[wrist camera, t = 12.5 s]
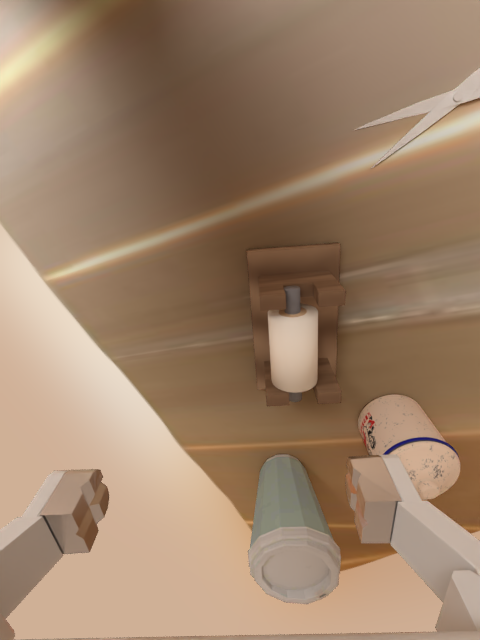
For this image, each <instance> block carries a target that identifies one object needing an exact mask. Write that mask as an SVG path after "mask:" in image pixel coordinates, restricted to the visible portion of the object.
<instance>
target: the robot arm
mask: <svg viewBox="0 0 480 640" xmlns="http://www.w3.org/2000/svg"><path fill="white" fill-rule="evenodd" d="M346 466H347V469H348V473H347V474H346V478H345V484H346V493H347V497H348V501H349V505H350V507H351V508H352V509H353V510H354V511H355V520H354V521H355V525H356V528H357V531H358V534H359V538H360V541H361V543H391V546H392V547H393V548H394V549H395V550H396V551H397V552H398V554H399V555H400V556H401V557H402V558H403V559H404V560H405V561H406V562H407V563H408V565H409V566H410V567H411V568H412V569H413V570H414V571H415V572H416V573H417V575H418V576H419V577H420V578H421V579H422V580H423V581H424V582H425V583H426V584H427V586H428V587H429V588H430V589H431V590H432V591H433V592H434V593H435V594H436V595H437V597H438V598H439V599H440V600H441V601H442V602H443V605H442V608H441V611H440V614H439V617H438V621H437V624H436V627H435V628H436V630H437V632H405V633H403V632H401V633H347V634H294V635H239V636H237V635H235V636H184V637H182V636H181V637H132V638H130V637H129V638H78V639H77V638H76V639H23V640H480V541H479V540H478V539H477V538H475V537H474V536H473V535H471V534H470V533H469V532H468V531H466V530H465V529H464V528H462V527H461V526H460V525H458V524H457V523H456V522H454V521H453V520H452V519H451V518H449V517H448V516H447V515H445V514H444V513H443V512H441V511H440V510H439V509H437V508H436V507H435V506H433V505H432V504H431V503H430V502H428V501H422V500H421V498H420V496H419V494H418V492H417V490H416V488H415V486H414V485H413V483H412V481H411V479H410V477H409V475H408V473H407V471H406V469H405V467H404V466H403V464H402V462H401V460H400V458H399V456H397V455H396V454H390V455H368V456H352V457H348V458H347V462H346ZM102 478H103V475H102V473H101V471H100V470H98V469H91V470H55V471H53V472H52V473H50V474H49V475H48V477H47V478H46V480H45V482H44V483H43V485H42V486H41V488H40V489H39V491H38V492H37V494H36V495H35V497H34V499H33V500H32V502H31V503H30V505H29V506H28V508H27V509H26V511H25V513H24V514H23V516H22V517H17V518H15V519H14V520H13V521H11V522H10V523H9V524H8V525H6V526H5V527H4V528H2V529H1V530H0V640H13V639H14V637H15V633H14V630H13V629H12V627H11V626H10V624H9V623H8V622H7V620H6V618H7V617H8V616H9V615H10V613H11V612H12V611H13V610H14V609H15V608H16V607H17V606H18V605H19V604H20V602H21V601H22V600H23V599H24V598H25V597H26V596H27V595H28V593H29V592H30V591H31V590H32V589H33V588H34V587H35V586H36V585H37V584H38V583H39V582H40V581H41V579H42V578H43V577H44V576H45V575H46V574H47V573H48V572H49V571H50V570H51V568H52V567H53V566H54V565H55V564H56V563H57V562H58V561H59V560H60V559H61V558H62V556H63V554H73V553H88V552H90V550H91V548H92V545H93V543H94V540H95V538H96V536H97V533H98V527H97V523H98V522H99V521H100V520H101V519H103V518H104V516H105V514H106V511H107V508H108V501H109V492H108V488H107V486H106V485H104V484H103V483H102V482H101V480H102Z"/></svg>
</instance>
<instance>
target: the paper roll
mask: <svg viewBox="0 0 480 640" xmlns="http://www.w3.org/2000/svg"><path fill="white" fill-rule="evenodd" d="M284 291H285V294H286V309H281V310H269V311H268V328H269V345H270V363H271V380H272V383H273V385H274V386H275V387H276V388H278V389H280V390H282V391H286V392H289V401H291V402H298V401H300V400H301V399H302V392H304V391H307V390H310V389H312V388H313V387H314V386H315V385H316V384H317V380H318V310H317V309H316V308H315V307H313V306H311V305H308V304H302V303H300V287H299V286H286V287H284Z"/></svg>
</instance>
